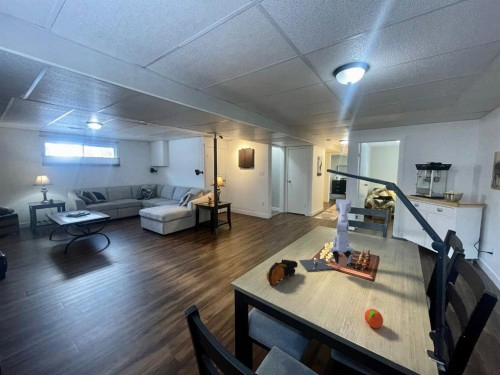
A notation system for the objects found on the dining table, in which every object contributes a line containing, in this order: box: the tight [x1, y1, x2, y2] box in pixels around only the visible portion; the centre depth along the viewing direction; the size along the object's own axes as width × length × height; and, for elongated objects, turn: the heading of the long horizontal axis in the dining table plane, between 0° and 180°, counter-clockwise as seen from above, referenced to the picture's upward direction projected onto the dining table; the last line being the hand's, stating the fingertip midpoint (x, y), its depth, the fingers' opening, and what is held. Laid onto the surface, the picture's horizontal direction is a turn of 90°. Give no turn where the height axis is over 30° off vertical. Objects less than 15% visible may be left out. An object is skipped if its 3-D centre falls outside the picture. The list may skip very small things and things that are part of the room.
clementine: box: [364, 308, 384, 329], centre depth 90 cm, size 8×7×7 cm
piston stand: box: [298, 257, 335, 272], centre depth 144 cm, size 18×14×5 cm
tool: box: [266, 259, 299, 286], centre depth 128 cm, size 8×23×15 cm, turn 132°
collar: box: [334, 254, 348, 268], centre depth 132 cm, size 5×5×6 cm
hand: (340, 262), depth 132 cm, fingers closed on collar, 5 cm apart
